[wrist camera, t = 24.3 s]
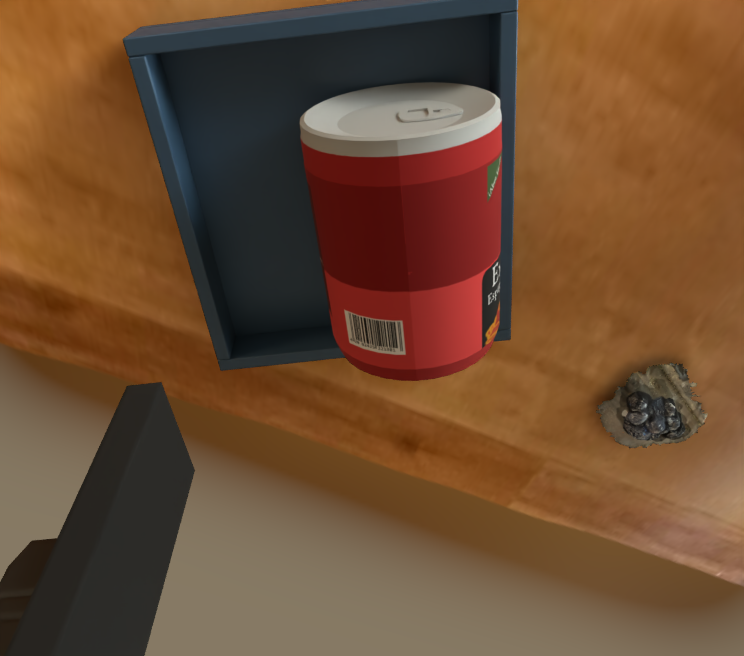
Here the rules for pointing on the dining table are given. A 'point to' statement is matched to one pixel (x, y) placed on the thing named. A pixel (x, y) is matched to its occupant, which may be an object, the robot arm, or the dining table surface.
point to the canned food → (408, 224)
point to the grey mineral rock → (653, 408)
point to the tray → (295, 145)
